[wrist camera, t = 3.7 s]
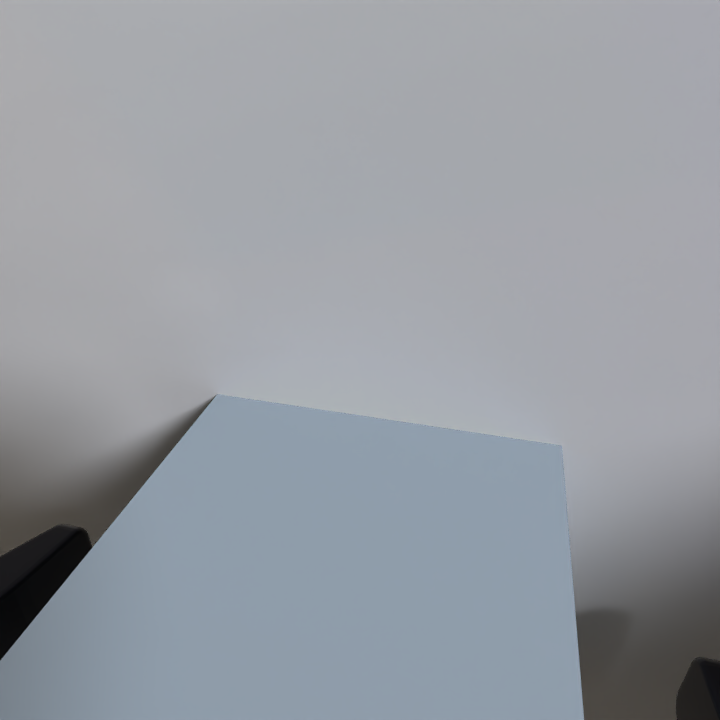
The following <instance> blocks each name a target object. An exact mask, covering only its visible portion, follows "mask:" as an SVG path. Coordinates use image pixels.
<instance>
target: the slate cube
mask: <svg viewBox="0 0 720 720" xmlns="http://www.w3.org/2000/svg"><path fill="white" fill-rule="evenodd" d="M0 720H584V712H583V700H582V688H581V675H580V663H579V651H578V639H577V626H576V614H575V602H574V589H573V577H572V565H571V552H570V540H569V528H568V515H567V503H566V491H565V478H564V466H563V454H562V446H560V445H554V444H547V443H540V442H533V441H527V440H520V439H513V438H507V437H500V436H493V435H487V434H480V433H473V432H466V431H460V430H453V429H446V428H440V427H433V426H426V425H419V424H413V423H406V422H399V421H393V420H386V419H379V418H373V417H366V416H359V415H352V414H346V413H339V412H332V411H326V410H319V409H312V408H305V407H299V406H292V405H285V404H279V403H272V402H265V401H259V400H252V399H245V398H238V397H232V396H225V395H218V394H217V395H216V397H215V398H214V399H213V400H212V402H211V403H210V404H209V405H208V406H207V408H206V409H205V410H204V411H203V413H202V414H201V415H200V416H199V417H198V419H197V420H196V421H195V422H194V424H193V425H192V426H191V427H190V429H189V430H188V431H187V432H186V433H185V435H184V436H183V437H182V438H181V440H180V441H179V442H178V443H177V444H176V446H175V447H174V448H173V449H172V451H171V452H170V453H169V454H168V456H167V457H166V458H165V459H164V460H163V462H162V463H161V464H160V465H159V467H158V468H157V469H156V470H155V471H154V473H153V474H152V475H151V476H150V478H149V479H148V480H147V481H146V483H145V484H144V485H143V486H142V487H141V489H140V490H139V491H138V492H137V494H136V495H135V496H134V497H133V498H132V500H131V501H130V502H129V503H128V505H127V506H126V507H125V508H124V510H123V511H122V512H121V513H120V514H119V516H118V517H117V518H116V519H115V521H114V522H113V523H112V524H111V525H110V527H109V528H108V529H107V530H106V532H105V533H104V534H103V535H102V537H101V538H100V539H99V540H98V541H97V543H96V544H95V545H94V546H93V548H92V549H91V550H90V551H89V552H88V554H87V555H86V556H85V557H84V559H83V560H82V561H81V562H80V563H79V565H78V566H77V567H76V568H75V570H74V571H73V572H72V573H71V575H70V576H69V577H68V578H67V579H66V581H65V582H64V583H63V584H62V586H61V587H60V588H59V589H58V590H57V592H56V593H55V594H54V595H53V597H52V598H51V599H50V600H49V602H48V603H47V604H46V605H45V606H44V608H43V609H42V610H41V611H40V613H39V614H38V615H37V616H36V617H35V619H34V620H33V621H32V622H31V624H30V625H29V626H28V627H27V629H26V630H25V631H24V632H23V633H22V635H21V636H20V637H19V638H18V640H17V641H16V642H15V643H14V644H13V646H12V647H11V648H10V649H9V651H8V652H7V653H6V654H5V656H4V657H3V658H2V659H1V660H0Z"/></svg>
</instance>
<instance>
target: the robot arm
mask: <svg viewBox="0 0 720 720" xmlns="http://www.w3.org/2000/svg"><path fill="white" fill-rule="evenodd" d="M91 549H92V545H91V542H90V539H89V535H88V533H87V531H86V530H85V529H83V528H81V527H76V526H71V525H66V524H61V525H57V526H55V527H53V528H51V529H49V530H47V531H46V532H44V533H42V534H40V535H38V536H37V537H35V538H33V539H31V540H29V541H27V542H26V543H24V544H22V545H20V546H18V547H17V548H15V549H13V550H11V551H9V552H7V553H6V554H4V555H2V556H0V660H1V659H2V658H3V657H4V656H5V654H6V653H7V652H8V651H9V649H10V648H11V647H12V646H13V644H14V643H15V642H16V641H17V640H18V638H19V637H20V636H21V635H22V633H23V632H24V631H25V630H26V629H27V627H28V626H29V625H30V624H31V622H32V621H33V620H34V619H35V617H36V616H37V615H38V614H39V613H40V611H41V610H42V609H43V608H44V606H45V605H46V604H47V603H48V602H49V600H50V599H51V598H52V597H53V595H54V594H55V593H56V592H57V590H58V589H59V588H60V587H61V586H62V584H63V583H64V582H65V581H66V579H67V578H68V577H69V576H70V575H71V573H72V572H73V571H74V570H75V568H76V567H77V566H78V565H79V563H80V562H81V561H82V560H83V559H84V557H85V556H86V555H87V554H88V552H89V551H90V550H91ZM676 715H677V720H720V661H717V660H712V659H708V658H703V657H698V658H696V659H694V660H693V662H692V663H691V666H690V668H689V670H688V672H687V674H686V676H685V678H684V680H683V682H682V684H681V687H680V689H679V691H678V694H677V699H676Z"/></svg>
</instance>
